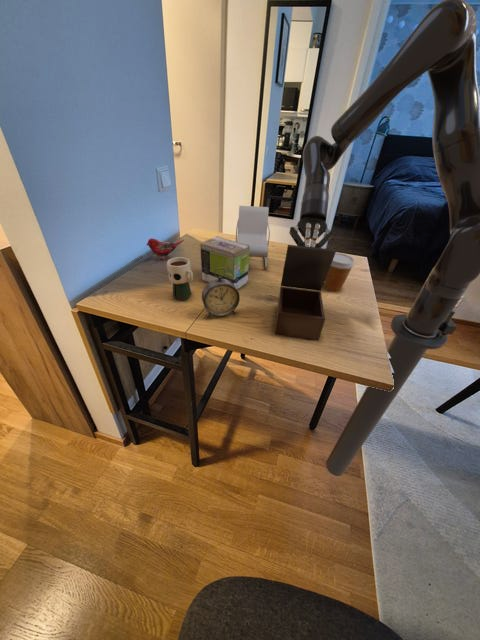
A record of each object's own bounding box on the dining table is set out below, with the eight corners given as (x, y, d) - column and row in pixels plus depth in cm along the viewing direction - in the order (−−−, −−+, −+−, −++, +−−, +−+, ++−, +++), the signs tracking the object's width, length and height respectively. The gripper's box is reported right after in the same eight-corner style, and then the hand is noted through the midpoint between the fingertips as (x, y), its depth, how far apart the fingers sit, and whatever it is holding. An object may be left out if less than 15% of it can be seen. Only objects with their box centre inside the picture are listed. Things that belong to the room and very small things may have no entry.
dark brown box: (318, 340, 74) (325, 319, 70) (274, 334, 76) (278, 312, 71) (315, 311, 86) (320, 291, 81) (277, 306, 87) (280, 286, 82)
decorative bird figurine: (147, 262, 109) (143, 238, 103) (183, 252, 119) (181, 230, 113) (151, 264, 107) (146, 241, 101) (187, 254, 117) (185, 232, 111)
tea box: (248, 282, 99) (251, 244, 90) (233, 293, 93) (234, 254, 84) (217, 270, 106) (217, 234, 97) (201, 280, 99) (199, 242, 90)
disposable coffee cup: (323, 279, 104) (331, 250, 97) (348, 286, 100) (358, 257, 93) (316, 289, 97) (324, 259, 90) (342, 297, 94) (352, 266, 86)
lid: (336, 251, 68) (335, 249, 68) (287, 246, 69) (288, 244, 70) (321, 291, 81) (321, 289, 81) (280, 286, 82) (280, 284, 82)
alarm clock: (204, 321, 79) (202, 273, 69) (201, 311, 83) (199, 264, 73) (239, 316, 82) (241, 269, 72) (234, 307, 86) (236, 261, 76)
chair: (264, 248, 126) (269, 205, 114) (266, 272, 107) (272, 223, 95) (237, 246, 126) (238, 204, 114) (234, 270, 107) (235, 221, 95)
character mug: (163, 295, 89) (157, 260, 81) (177, 287, 94) (173, 253, 86) (187, 306, 85) (183, 270, 77) (201, 297, 90) (199, 262, 82)
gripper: (293, 195, 73) (285, 254, 71) (341, 199, 71) (335, 259, 69) (290, 210, 80) (283, 263, 78) (334, 214, 79) (328, 268, 77)
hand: (307, 261), depth 74 cm, fingers closed
